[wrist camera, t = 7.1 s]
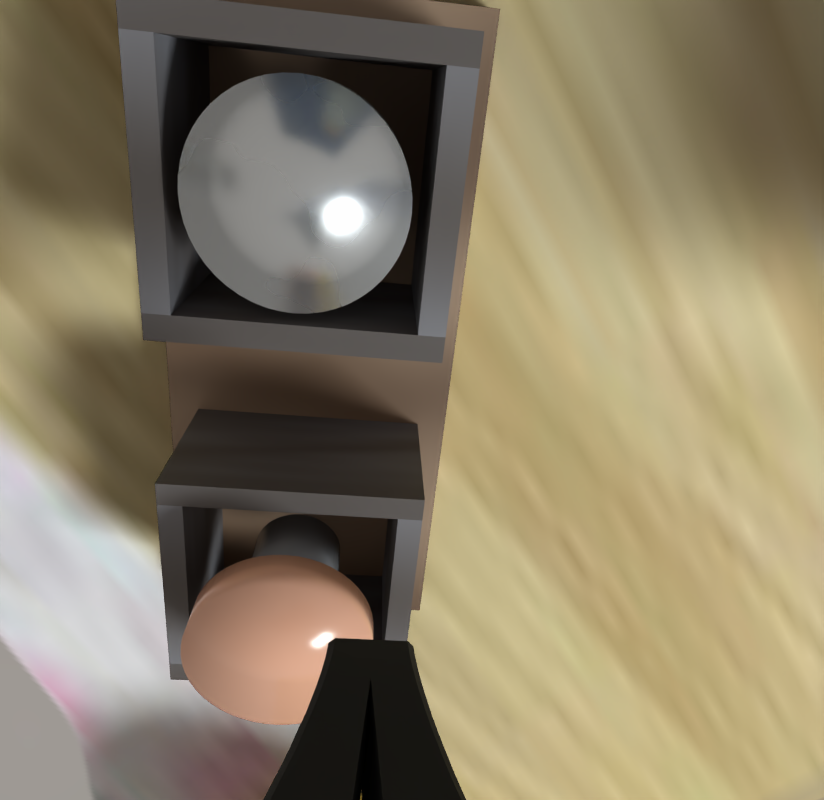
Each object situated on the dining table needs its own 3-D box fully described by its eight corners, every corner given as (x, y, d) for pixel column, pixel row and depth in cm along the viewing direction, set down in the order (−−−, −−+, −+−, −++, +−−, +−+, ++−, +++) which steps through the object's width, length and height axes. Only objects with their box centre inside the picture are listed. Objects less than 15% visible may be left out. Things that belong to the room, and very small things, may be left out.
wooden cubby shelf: (155, -27, 15) (60, -75, 11) (493, 13, 16) (536, -16, 11) (190, 578, 23) (143, 698, 18) (418, 590, 24) (425, 709, 19)
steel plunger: (222, 65, 15) (170, 59, 11) (414, 86, 15) (423, 86, 12) (226, 257, 17) (183, 303, 13) (398, 272, 17) (401, 322, 14)
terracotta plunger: (217, 479, 18) (175, 579, 14) (381, 488, 18) (380, 589, 14) (222, 604, 20) (185, 721, 16) (370, 611, 20) (366, 727, 16)
